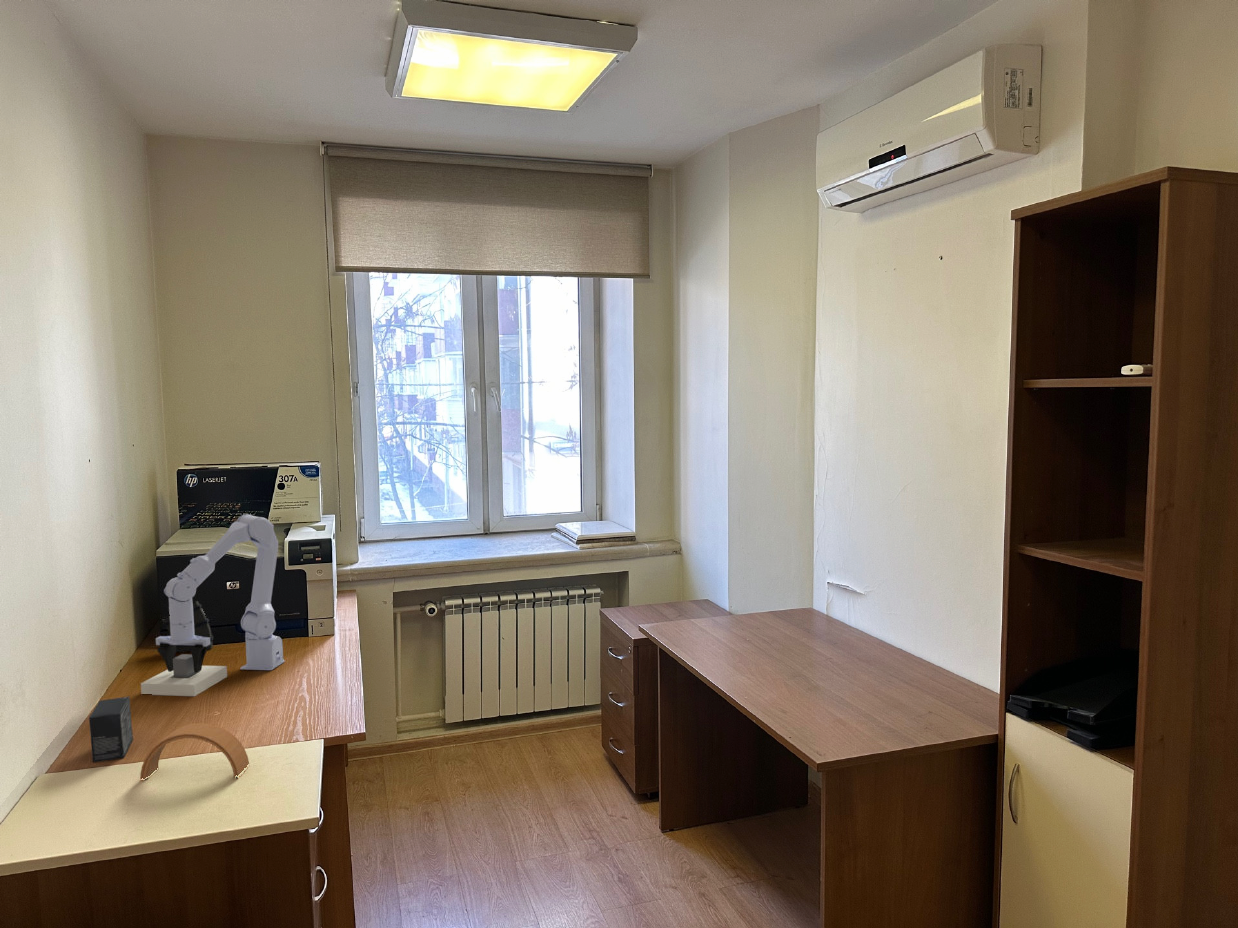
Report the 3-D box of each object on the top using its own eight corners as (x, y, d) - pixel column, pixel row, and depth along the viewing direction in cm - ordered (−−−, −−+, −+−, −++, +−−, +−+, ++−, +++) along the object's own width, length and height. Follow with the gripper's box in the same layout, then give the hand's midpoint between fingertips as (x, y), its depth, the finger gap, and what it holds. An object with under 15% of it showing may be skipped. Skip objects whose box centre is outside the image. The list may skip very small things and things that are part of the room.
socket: (227, 676, 235) (226, 666, 235) (194, 696, 220) (194, 685, 220) (177, 674, 237) (176, 664, 237) (141, 694, 222) (140, 683, 222)
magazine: (222, 643, 260) (197, 602, 257) (181, 665, 257) (154, 624, 254) (224, 639, 264) (198, 599, 261) (183, 661, 261) (157, 621, 257)
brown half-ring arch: (238, 779, 174) (235, 733, 173) (140, 781, 173) (137, 735, 172) (249, 767, 179) (247, 721, 178) (154, 768, 179) (151, 723, 178)
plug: (197, 682, 231) (195, 654, 230) (188, 688, 227) (186, 659, 226) (183, 682, 231) (182, 654, 230) (174, 687, 227) (172, 658, 226)
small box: (101, 743, 191) (98, 699, 190) (133, 739, 194) (131, 695, 193) (90, 763, 181) (87, 716, 180) (124, 758, 184) (121, 712, 183)
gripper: (147, 625, 224) (150, 675, 225) (198, 626, 222) (201, 676, 224) (164, 618, 231) (167, 666, 232) (213, 619, 229) (216, 667, 231)
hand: (184, 670), depth 228 cm, fingers open, 7 cm apart
